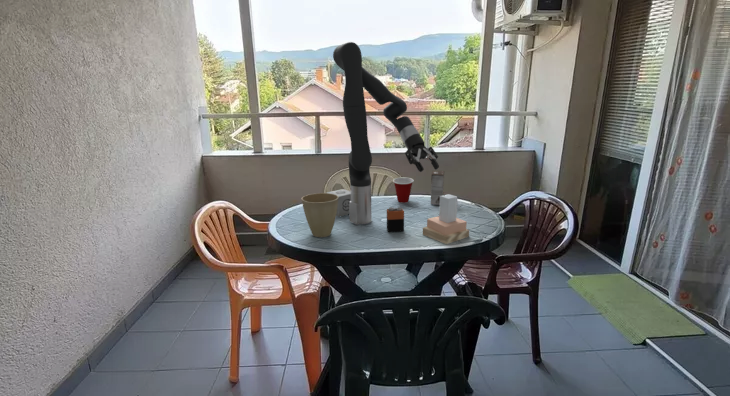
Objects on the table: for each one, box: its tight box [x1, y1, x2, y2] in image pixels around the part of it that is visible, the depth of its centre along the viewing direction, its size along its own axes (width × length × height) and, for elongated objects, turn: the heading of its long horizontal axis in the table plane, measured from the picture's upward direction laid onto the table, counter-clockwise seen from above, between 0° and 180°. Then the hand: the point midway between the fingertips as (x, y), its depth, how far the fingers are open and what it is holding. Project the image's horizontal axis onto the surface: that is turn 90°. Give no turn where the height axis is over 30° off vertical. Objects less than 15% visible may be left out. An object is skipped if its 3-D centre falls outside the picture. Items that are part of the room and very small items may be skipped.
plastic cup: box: [392, 176, 415, 204], centre depth 197 cm, size 11×11×12 cm
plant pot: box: [301, 192, 339, 238], centre depth 153 cm, size 15×15×16 cm
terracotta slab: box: [426, 215, 467, 235], centre depth 151 cm, size 11×11×4 cm
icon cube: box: [325, 188, 351, 218], centre depth 181 cm, size 10×10×10 cm
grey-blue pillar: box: [438, 193, 458, 223], centre depth 149 cm, size 5×5×10 cm
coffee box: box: [430, 170, 445, 206], centre depth 194 cm, size 9×6×16 cm
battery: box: [386, 206, 405, 233], centre depth 157 cm, size 4×7×10 cm, turn 95°
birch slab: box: [422, 226, 470, 245], centre depth 151 cm, size 13×13×4 cm
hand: (429, 169), depth 153 cm, fingers open, 8 cm apart
